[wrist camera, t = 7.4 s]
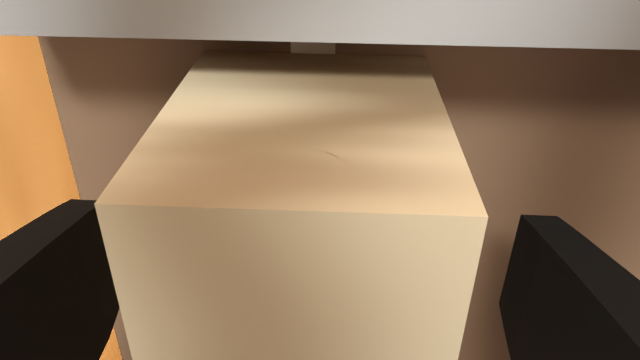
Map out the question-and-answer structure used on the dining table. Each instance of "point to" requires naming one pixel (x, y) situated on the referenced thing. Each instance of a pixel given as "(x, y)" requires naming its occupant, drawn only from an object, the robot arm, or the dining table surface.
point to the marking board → (391, 40)
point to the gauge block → (296, 214)
